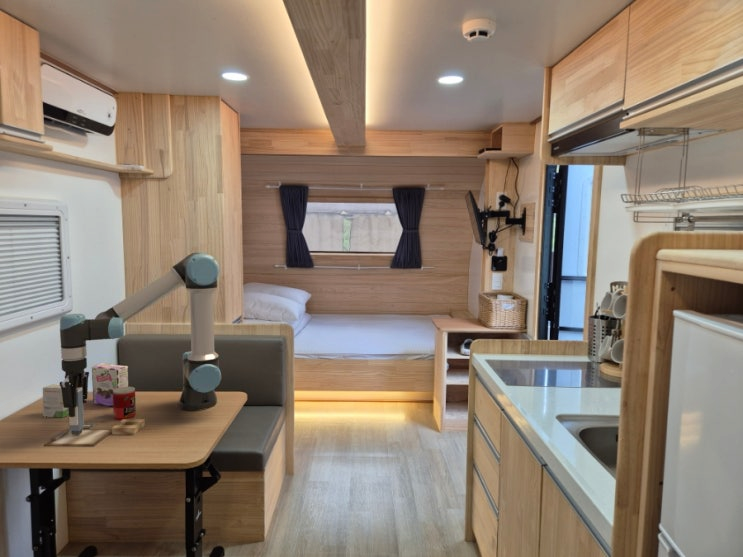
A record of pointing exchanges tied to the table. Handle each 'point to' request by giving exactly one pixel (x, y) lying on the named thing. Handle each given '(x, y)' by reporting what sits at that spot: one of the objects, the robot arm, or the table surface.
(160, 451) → the table surface
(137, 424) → the pen stand
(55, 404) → the ink box
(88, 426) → the plate
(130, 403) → the canned food
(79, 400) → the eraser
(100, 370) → the candy box
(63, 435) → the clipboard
